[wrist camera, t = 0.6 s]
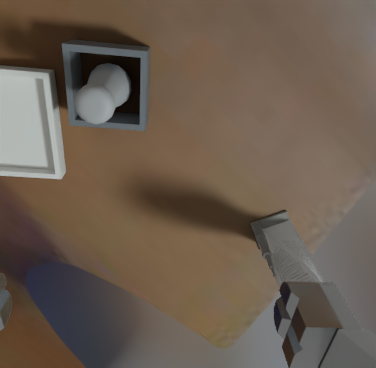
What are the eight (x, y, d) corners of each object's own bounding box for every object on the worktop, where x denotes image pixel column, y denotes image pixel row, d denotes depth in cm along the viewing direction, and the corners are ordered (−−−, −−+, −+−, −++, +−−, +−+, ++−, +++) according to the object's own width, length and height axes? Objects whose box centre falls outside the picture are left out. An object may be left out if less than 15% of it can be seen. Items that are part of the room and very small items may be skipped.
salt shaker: (100, 105, 46) (76, 138, 35) (86, 65, 43) (55, 86, 32) (138, 97, 46) (126, 127, 34) (127, 56, 43) (110, 74, 32)
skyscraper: (293, 207, 57) (384, 359, 32) (303, 239, 60) (391, 396, 36) (249, 223, 58) (304, 380, 34) (262, 253, 62) (319, 414, 37)
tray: (-68, 59, 42) (-81, 62, 40) (54, 69, 43) (48, 73, 41) (-37, 165, 50) (-47, 172, 48) (65, 171, 51) (61, 179, 49)
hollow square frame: (73, 39, 42) (61, 43, 37) (150, 46, 42) (147, 51, 38) (79, 114, 47) (69, 125, 42) (148, 119, 47) (145, 130, 43)
